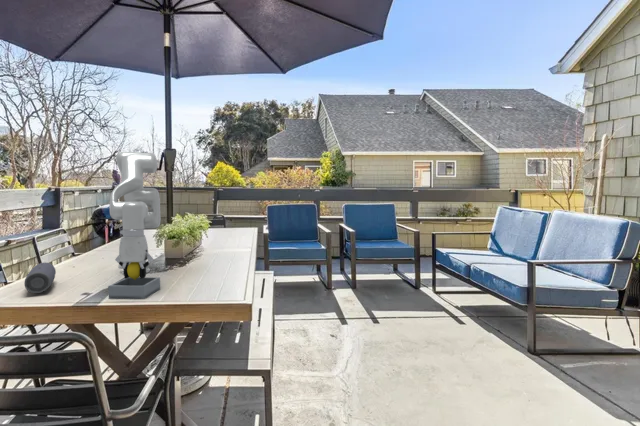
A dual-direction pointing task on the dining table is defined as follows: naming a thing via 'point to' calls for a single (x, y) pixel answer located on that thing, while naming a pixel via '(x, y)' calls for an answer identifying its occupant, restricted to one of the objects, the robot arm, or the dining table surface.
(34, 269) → the bluetooth speaker
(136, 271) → the lemon
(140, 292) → the grey shallow tray
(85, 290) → the dining table surface
